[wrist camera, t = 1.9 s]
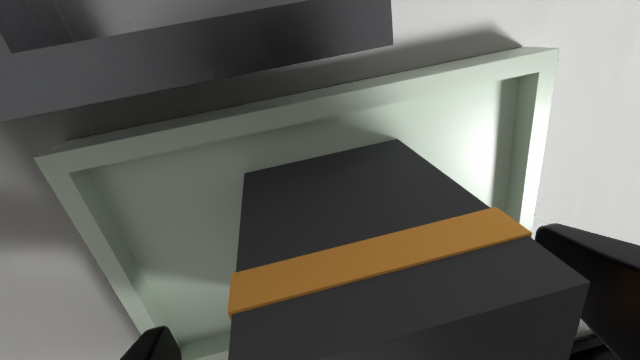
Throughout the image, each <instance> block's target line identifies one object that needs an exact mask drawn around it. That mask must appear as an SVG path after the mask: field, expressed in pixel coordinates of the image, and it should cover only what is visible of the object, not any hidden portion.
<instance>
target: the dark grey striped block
mask: <svg viewBox="0 0 640 360" xmlns="http://www.w3.org/2000/svg"><path fill="white" fill-rule="evenodd" d="M531 235H532V232H531V231H529V230H528V229H526V228H525V227H524V226H522V225H521V224H519V223H518V222H517V221H515V220H514V219H513V218H511V217H510V216H508V215H507V214H506V213H504V212H503V211H501V210H500V209H499V208H497V207H493V208H490V207H489V206H487V205H486V204H485V203H483V202H482V201H481V200H479V199H478V198H477V197H475V196H474V195H473V194H471V193H470V192H469V191H467V190H466V189H465V188H463V187H462V186H461V185H459V184H458V183H456V182H455V181H454V180H452V179H451V178H450V177H448V176H447V175H446V174H444V173H443V172H442V171H440V170H439V169H438V168H436V167H435V166H434V165H432V164H431V163H430V162H428V161H427V160H426V159H424V158H423V157H421V156H420V155H419V154H417V153H416V152H415V151H413V150H412V149H411V148H409V147H408V146H407V145H405V144H404V143H403V142H401V141H400V140H399V139H394V140H390V141H385V142H381V143H376V144H372V145H368V146H363V147H359V148H354V149H350V150H345V151H341V152H337V153H332V154H328V155H323V156H319V157H314V158H310V159H305V160H301V161H297V162H292V163H288V164H283V165H279V166H274V167H270V168H266V169H261V170H257V171H252V172H248V173H244V183H243V194H242V206H241V217H240V229H239V240H238V252H237V263H236V273H232V274H231V283H230V292H229V302H228V312H227V313H228V315H229V318H230V320H231V332H230V343H229V355H228V360H569V358H570V354H571V350H572V347H573V343H574V340H575V336H576V332H577V329H578V325H579V321H580V318H581V314H582V311H583V307H584V303H585V300H586V296H587V292H588V289H589V285H590V281H589V280H587V279H586V278H584V277H583V276H582V275H580V274H579V273H578V272H576V271H575V270H574V269H572V268H571V267H570V266H568V265H567V264H566V263H564V262H563V261H562V260H560V259H559V258H558V257H556V256H555V255H553V254H552V253H551V252H549V251H548V250H547V249H545V248H544V247H543V246H541V245H540V244H539V243H537V242H536V241H535V240H533V239H532V238H531Z"/></svg>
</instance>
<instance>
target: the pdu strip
mask: <svg viewBox="0 0 640 360" xmlns="http://www.w3.org/2000/svg"><path fill="white" fill-rule="evenodd" d="M389 45H393V30H392V13H391V0H0V122H3V121H8V120H13V119H18V118H23V117H28V116H33V115H39V114H44V113H49V112H54V111H59V110H64V109H69V108H74V107H79V106H84V105H89V104H94V103H99V102H105V101H110V100H115V99H120V98H125V97H130V96H135V95H140V94H145V93H150V92H155V91H160V90H165V89H170V88H176V87H181V86H186V85H191V84H196V83H201V82H206V81H211V80H216V79H221V78H226V77H231V76H236V75H242V74H247V73H252V72H257V71H262V70H267V69H272V68H277V67H282V66H287V65H292V64H297V63H302V62H308V61H313V60H318V59H323V58H328V57H333V56H338V55H343V54H348V53H353V52H358V51H363V50H368V49H374V48H379V47H384V46H389Z"/></svg>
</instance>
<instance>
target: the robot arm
mask: <svg viewBox="0 0 640 360" xmlns="http://www.w3.org/2000/svg"><path fill="white" fill-rule="evenodd" d="M535 241H536V242H537V243H539V244H540V245H541V246H543V247H544V248H545V249H547V250H548V251H549V252H551V253H552V254H553V255H555V256H556V257H558V258H559V259H560V260H562V261H563V262H564V263H566V264H567V265H568V266H570V267H571V268H572V269H574V270H575V271H576V272H578V273H579V274H580V275H582V276H583V277H584V278H586V279H587V280H589V281H590V285H589V289H588V292H587V296H586V300H585V303H584V307H583V311H582V314H581V319H582V320H583V321H584V322H585V323H586V324H587V326H588V327H589V328H590V329H591V330H592V331H593V332H594V333H595V334H596V335H597V336H598V337H595V338H592V339H588V340H585V341H582V342H578V343H575V344H573V347H572V350H571V354H570V358H569V360H640V246H639V245H635V244H632V243H628V242H624V241H621V240H617V239H613V238H610V237H606V236H602V235H598V234H595V233H591V232H587V231H584V230H580V229H576V228H572V227H569V226H565V225H561V224H557V223H554V224H549V225H545V226H541V227H539V228H538V229H537V231H536V236H535ZM120 360H182V356H181V350H180V348H179V346H178V344H177V342H176V340H175V338H174V337H173V335H172V333H171V331H170V329H169V328H168V327H167V326H159V327H155V328H151V329H148V330H146V331H145V332H144V333H143V334H142V335H141V336H140V337H139V338H138V339H137V341H136V342H135V343H134V344H133V345H132V346H131V347H130V349H129V350H128V351H127V352H126V353H125V354H124V355H123V356H122V358H121V359H120Z"/></svg>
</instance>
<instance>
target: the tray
mask: <svg viewBox="0 0 640 360" xmlns="http://www.w3.org/2000/svg"><path fill="white" fill-rule="evenodd" d="M558 55H559V48H543V47H521V48H516V49H511V50H506V51H501V52H496V53H491V54H487V55H482V56H477V57H472V58H467V59H462V60H457V61H452V62H448V63H443V64H438V65H433V66H428V67H423V68H418V69H414V70H409V71H404V72H399V73H394V74H389V75H384V76H380V77H375V78H370V79H365V80H360V81H355V82H350V83H346V84H341V85H336V86H331V87H326V88H321V89H316V90H311V91H307V92H302V93H297V94H292V95H287V96H282V97H277V98H273V99H268V100H263V101H258V102H253V103H248V104H243V105H239V106H234V107H229V108H224V109H219V110H214V111H209V112H204V113H200V114H195V115H190V116H185V117H180V118H175V119H170V120H166V121H161V122H156V123H151V124H146V125H141V126H136V127H132V128H127V129H122V130H117V131H112V132H107V133H102V134H98V135H93V136H88V137H83V138H78V139H73V140H68V141H63V142H61V143H59V144H57V145H56V146H54V147H52V148H50V149H48V150H47V151H45V152H43V153H41V154H39V155H38V156H36V157H34V158H33V159H34V160H35V162H36V164H37V165H38V167H39V168H40V170H41V172H42V173H43V175H44V177H45V178H46V180H47V182H48V183H49V185H50V186H51V188H52V190H53V191H54V193H55V195H56V196H57V198H58V200H59V201H60V203H61V205H62V206H63V208H64V209H65V211H66V213H67V214H68V216H69V218H70V219H71V221H72V223H73V224H74V226H75V228H76V229H77V231H78V232H79V234H80V236H81V237H82V239H83V241H84V242H85V244H86V246H87V247H88V249H89V250H90V252H91V254H92V255H93V257H94V259H95V260H96V262H97V264H98V265H99V267H100V269H101V270H102V272H103V273H104V275H105V277H106V278H107V280H108V282H109V283H110V285H111V287H112V288H113V290H114V292H115V293H116V295H117V296H118V298H119V300H120V301H121V303H122V305H123V306H124V308H125V310H126V311H127V313H128V314H129V316H130V318H131V319H132V321H133V323H134V324H135V326H136V328H137V329H138V331H139V333H140V334H141V335H142V334H143V333H144V332H145V331H146V330H148V329H151V328H155V327H159V326H167V327H168V328H169V329H170V331H171V333H172V335H173V337H174V338H175V340H176V342H177V344H178V346H179V348H180V350H181V356H182V360H228V355H229V343H230V332H231V320H230V318H229V315H228V313H227V312H228V302H229V292H230V283H231V274H232V273H236V263H237V252H238V240H239V229H240V217H241V206H242V194H243V183H244V173H248V172H252V171H257V170H261V169H266V168H270V167H274V166H279V165H283V164H288V163H292V162H297V161H301V160H305V159H310V158H314V157H319V156H323V155H328V154H332V153H337V152H341V151H345V150H350V149H354V148H359V147H363V146H368V145H372V144H376V143H381V142H385V141H390V140H394V139H399V140H400V141H401V142H403V143H404V144H405V145H407V146H408V147H409V148H411V149H412V150H413V151H415V152H416V153H417V154H419V155H420V156H421V157H423V158H424V159H426V160H427V161H428V162H430V163H431V164H432V165H434V166H435V167H436V168H438V169H439V170H440V171H442V172H443V173H444V174H446V175H447V176H448V177H450V178H451V179H452V180H454V181H455V182H456V183H458V184H459V185H461V186H462V187H463V188H465V189H466V190H467V191H469V192H470V193H471V194H473V195H474V196H475V197H477V198H478V199H479V200H481V201H482V202H483V203H485V204H486V205H487V206H489V207H490V208H493V207H497V208H499V209H500V210H501V211H503V212H504V213H506V214H507V215H508V216H510V217H511V218H513V219H514V220H515V221H517V222H518V223H519V224H521V225H522V226H524V227H525V228H526V229H528V230H529V231H532V225H533V218H534V212H535V205H536V199H537V192H538V186H539V179H540V172H541V166H542V159H543V153H544V146H545V140H546V133H547V127H548V120H549V114H550V107H551V101H552V94H553V88H554V81H555V75H556V68H557V61H558Z"/></svg>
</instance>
